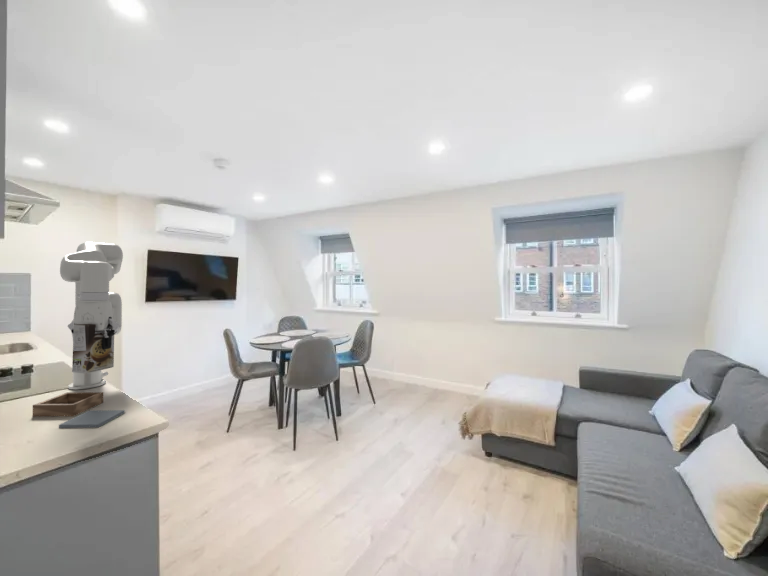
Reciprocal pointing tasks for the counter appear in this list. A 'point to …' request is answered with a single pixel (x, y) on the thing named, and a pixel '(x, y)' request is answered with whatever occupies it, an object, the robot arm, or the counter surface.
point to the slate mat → (92, 419)
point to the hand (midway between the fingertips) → (94, 348)
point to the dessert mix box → (90, 350)
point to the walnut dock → (68, 404)
